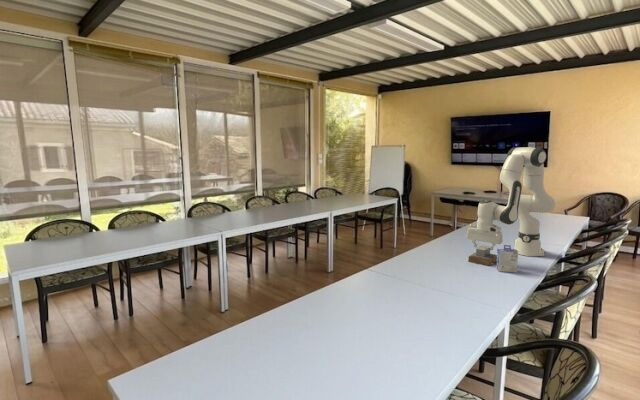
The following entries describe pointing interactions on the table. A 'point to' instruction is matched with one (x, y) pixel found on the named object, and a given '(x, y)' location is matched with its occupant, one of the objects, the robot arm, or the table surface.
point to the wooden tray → (483, 259)
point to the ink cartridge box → (507, 259)
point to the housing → (483, 251)
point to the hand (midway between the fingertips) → (483, 248)
